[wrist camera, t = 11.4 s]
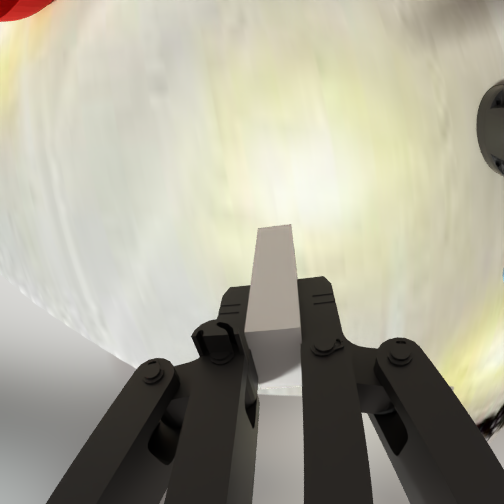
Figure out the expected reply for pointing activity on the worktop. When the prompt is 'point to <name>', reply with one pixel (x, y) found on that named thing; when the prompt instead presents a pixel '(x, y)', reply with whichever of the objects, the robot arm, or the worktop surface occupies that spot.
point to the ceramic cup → (20, 8)
